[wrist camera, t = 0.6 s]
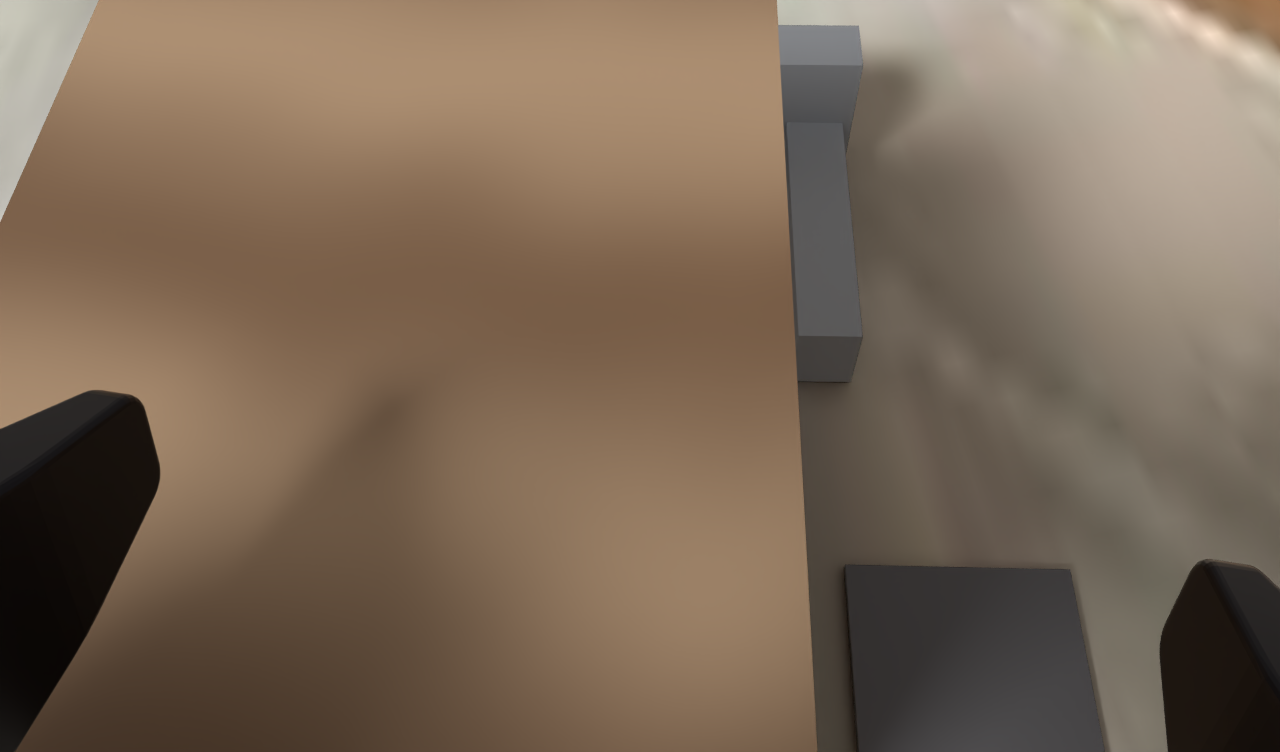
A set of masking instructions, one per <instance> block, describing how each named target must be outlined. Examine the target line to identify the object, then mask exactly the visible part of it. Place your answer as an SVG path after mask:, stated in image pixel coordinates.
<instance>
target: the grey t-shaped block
mask: <svg viewBox="0 0 1280 752" xmlns="http://www.w3.org/2000/svg"><path fill="white" fill-rule="evenodd" d="M778 34H779V53H780V71H781V89H782V108H783V126H784V145H785V163H786V182H787V200H788V218H789V237H790V255H791V274H792V292H793V311H794V329H795V347H796V366H797V381H814V382H851V378H852V375H853V371H854V367H855V363H856V360H857V356H858V352H859V349H860V345H861V341H862V337H863V335H862V324H861V314H860V303H859V292H858V282H857V271H856V261H855V250H854V239H853V229H852V218H851V208H850V197H849V186H848V176H847V165H846V150H847V145H848V140H849V135H850V130H851V125H852V120H853V115H854V110H855V104H856V99H857V94H858V89H859V84H860V79H861V74H862V69H863V59H862V50H861V41H860V33H859V26H820V25H778Z"/></svg>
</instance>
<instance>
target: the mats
mask: <svg viewBox="0 0 1280 752" xmlns="http://www.w3.org/2000/svg"><path fill="white" fill-rule="evenodd" d="M844 573H845V587H846V601H847V614H848V628H849V642H850V655H851V669H852V683H853V696H854V710H855V724H856V737H857V751H858V752H1105V751H1104V745H1103V740H1102V735H1101V730H1100V724H1099V719H1098V714H1097V709H1096V703H1095V698H1094V693H1093V688H1092V682H1091V677H1090V672H1089V667H1088V661H1087V656H1086V651H1085V646H1084V640H1083V635H1082V630H1081V625H1080V619H1079V614H1078V609H1077V604H1076V598H1075V593H1074V588H1073V582H1072V577H1071V572H1070V570H1065V569H1019V568H973V567H927V566H881V565H845V567H844Z"/></svg>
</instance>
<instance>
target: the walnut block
mask: <svg viewBox="0 0 1280 752" xmlns="http://www.w3.org/2000/svg"><path fill="white" fill-rule="evenodd" d="M89 390H104V391H111V392H117V393H124V394H130V395H133V396H135V397H137V398H138V399H139V400H140V401H141V402H142V404H143V405H144V407H145V410H146V414H147V418H148V421H149V425H150V429H151V433H152V436H153V440H154V444H155V448H156V451H157V455H158V459H159V463H160V483H159V486H158V490H157V492H156V495H155V497H154V499H153V501H152V503H151V506H150V508H149V510H148V512H147V514H146V516H145V518H144V520H143V522H142V524H141V526H140V528H139V530H138V532H137V535H136V537H135V539H134V541H133V543H132V545H131V547H130V549H129V551H128V553H127V555H126V557H125V559H124V561H123V564H122V566H121V568H120V570H119V572H118V574H117V576H116V578H115V580H114V582H113V584H112V586H111V588H110V590H109V593H108V595H107V597H106V599H105V601H104V603H103V605H102V607H101V609H100V611H99V613H98V615H97V617H96V619H95V621H94V623H93V625H92V627H91V628H90V630H89V632H88V634H87V636H86V638H85V639H84V641H83V643H82V644H81V646H80V648H79V650H78V651H77V653H76V655H75V656H74V658H73V660H72V661H71V663H70V665H69V666H68V668H67V669H66V671H65V673H64V674H63V676H62V677H61V679H60V681H59V682H58V684H57V685H56V687H55V689H54V690H53V692H52V693H51V695H50V697H49V698H48V700H47V701H46V703H45V705H44V706H43V708H42V710H41V711H40V713H39V714H38V716H37V718H36V719H35V721H34V722H33V724H32V726H31V727H30V729H29V730H28V732H27V734H26V735H25V737H24V738H23V740H22V742H21V743H20V745H19V746H18V748H17V750H16V751H15V752H817V734H816V716H815V697H814V679H813V661H812V642H811V624H810V605H809V587H808V568H807V550H806V532H805V513H804V495H803V476H802V458H801V440H800V421H799V403H798V384H797V366H796V347H795V329H794V311H793V292H792V274H791V255H790V237H789V218H788V200H787V182H786V163H785V145H784V126H783V108H782V89H781V71H780V53H779V34H778V16H777V0H99V1H98V3H97V6H96V8H95V10H94V13H93V15H92V17H91V19H90V22H89V24H88V26H87V28H86V31H85V33H84V35H83V37H82V40H81V42H80V44H79V46H78V49H77V51H76V53H75V55H74V58H73V60H72V62H71V64H70V67H69V69H68V71H67V73H66V76H65V78H64V80H63V82H62V85H61V87H60V89H59V91H58V94H57V96H56V98H55V100H54V103H53V105H52V107H51V109H50V112H49V114H48V116H47V118H46V121H45V123H44V125H43V127H42V130H41V132H40V134H39V136H38V139H37V141H36V143H35V145H34V148H33V150H32V152H31V154H30V157H29V159H28V161H27V163H26V166H25V168H24V170H23V172H22V175H21V177H20V179H19V181H18V184H17V186H16V188H15V190H14V193H13V195H12V197H11V199H10V202H9V204H8V206H7V208H6V211H5V213H4V215H3V217H2V220H1V222H0V429H1V428H3V427H6V426H8V425H10V424H12V423H15V422H17V421H19V420H22V419H24V418H26V417H28V416H31V415H33V414H35V413H38V412H40V411H42V410H44V409H47V408H49V407H51V406H54V405H56V404H58V403H60V402H63V401H65V400H67V399H70V398H72V397H74V396H76V395H79V394H81V393H83V392H86V391H89Z"/></svg>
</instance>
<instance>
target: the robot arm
mask: <svg viewBox="0 0 1280 752" xmlns="http://www.w3.org/2000/svg"><path fill="white" fill-rule="evenodd" d="M159 483H160V463H159V459H158V455H157V451H156V448H155V444H154V440H153V436H152V433H151V429H150V425H149V421H148V418H147V414H146V410H145V407H144V405H143V404H142V402H141V401H140V400H139V399H138V398H137V397H135V396H133V395H130V394H124V393H117V392H111V391H104V390H89V391H86V392H83V393H81V394H79V395H76V396H74V397H72V398H70V399H67V400H65V401H63V402H60V403H58V404H56V405H54V406H51V407H49V408H47V409H44V410H42V411H40V412H38V413H35V414H33V415H31V416H28V417H26V418H24V419H22V420H19V421H17V422H15V423H12V424H10V425H8V426H6V427H3V428H1V429H0V752H15V751H16V750H17V748H18V746H19V745H20V743H21V742H22V740H23V738H24V737H25V735H26V734H27V732H28V730H29V729H30V727H31V726H32V724H33V722H34V721H35V719H36V718H37V716H38V714H39V713H40V711H41V710H42V708H43V706H44V705H45V703H46V701H47V700H48V698H49V697H50V695H51V693H52V692H53V690H54V689H55V687H56V685H57V684H58V682H59V681H60V679H61V677H62V676H63V674H64V673H65V671H66V669H67V668H68V666H69V665H70V663H71V661H72V660H73V658H74V656H75V655H76V653H77V651H78V650H79V648H80V646H81V644H82V643H83V641H84V639H85V638H86V636H87V634H88V632H89V630H90V628H91V627H92V625H93V623H94V621H95V619H96V617H97V615H98V613H99V611H100V609H101V607H102V605H103V603H104V601H105V599H106V597H107V595H108V593H109V590H110V588H111V586H112V584H113V582H114V580H115V578H116V576H117V574H118V572H119V570H120V568H121V566H122V564H123V561H124V559H125V557H126V555H127V553H128V551H129V549H130V547H131V545H132V543H133V541H134V539H135V537H136V535H137V532H138V530H139V528H140V526H141V524H142V522H143V520H144V518H145V516H146V514H147V512H148V510H149V508H150V506H151V503H152V501H153V499H154V497H155V495H156V492H157V490H158V486H159ZM1160 666H1161V678H1162V689H1163V701H1164V712H1165V724H1166V735H1167V746H1168V752H1280V589H1279V588H1278V587H1277V586H1276V585H1275V584H1274V583H1273V582H1272V581H1271V580H1270V579H1269V578H1268V577H1267V576H1266V575H1265V574H1263V573H1262V572H1261V571H1260V570H1258V569H1257V568H1255V567H1253V566H1249V565H1245V564H1239V563H1232V562H1226V561H1219V560H1213V559H1206V560H1202V561H1199V562H1198V563H1197V564H1196V565H1195V566H1194V567H1193V568H1192V570H1191V571H1190V573H1189V575H1188V577H1187V579H1186V581H1185V584H1184V586H1183V588H1182V590H1181V592H1180V594H1179V596H1178V598H1177V600H1176V602H1175V604H1174V606H1173V608H1172V611H1171V613H1170V615H1169V617H1168V619H1167V621H1166V623H1165V625H1164V628H1163V631H1162V635H1161V641H1160Z"/></svg>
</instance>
